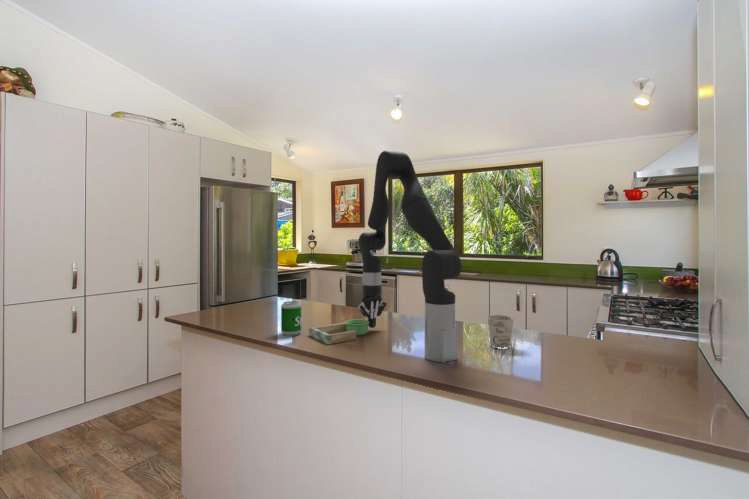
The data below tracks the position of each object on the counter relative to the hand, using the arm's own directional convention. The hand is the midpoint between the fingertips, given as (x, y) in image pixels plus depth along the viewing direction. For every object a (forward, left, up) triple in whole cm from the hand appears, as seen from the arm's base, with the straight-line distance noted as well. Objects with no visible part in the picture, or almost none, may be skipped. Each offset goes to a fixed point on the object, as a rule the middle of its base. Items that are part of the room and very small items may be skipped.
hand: (372, 327), depth 158 cm
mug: (-42, -25, -2) cm, 49 cm away
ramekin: (0, +7, -2) cm, 7 cm away
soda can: (+13, +28, -2) cm, 31 cm away
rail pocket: (0, +13, -1) cm, 13 cm away
